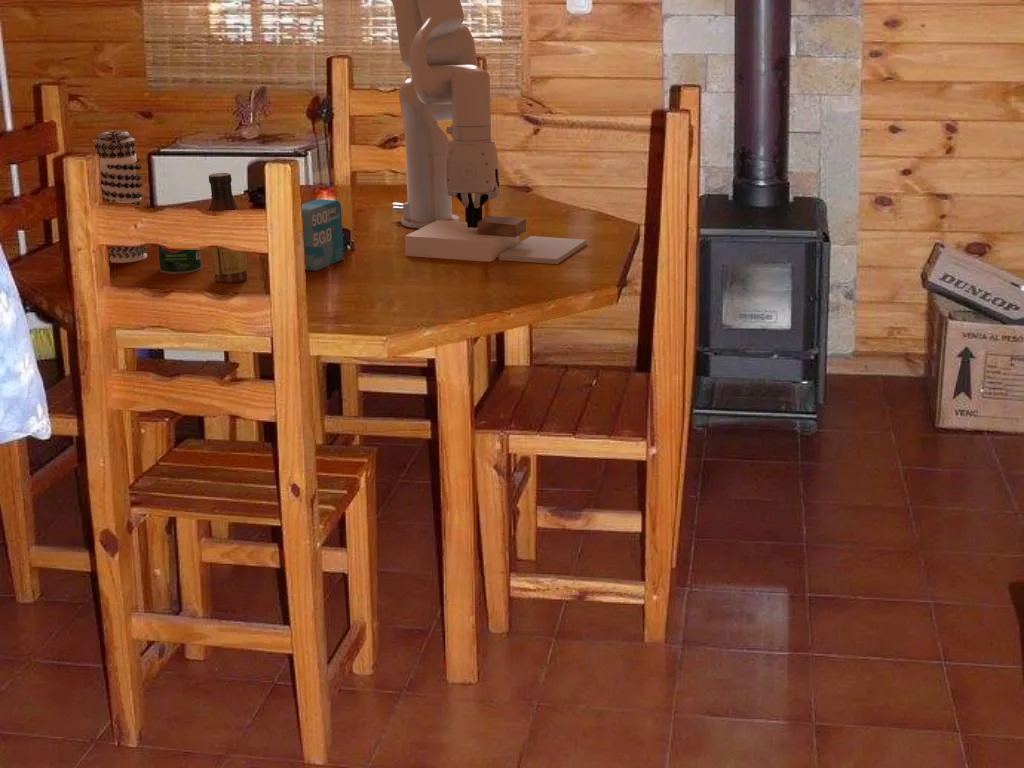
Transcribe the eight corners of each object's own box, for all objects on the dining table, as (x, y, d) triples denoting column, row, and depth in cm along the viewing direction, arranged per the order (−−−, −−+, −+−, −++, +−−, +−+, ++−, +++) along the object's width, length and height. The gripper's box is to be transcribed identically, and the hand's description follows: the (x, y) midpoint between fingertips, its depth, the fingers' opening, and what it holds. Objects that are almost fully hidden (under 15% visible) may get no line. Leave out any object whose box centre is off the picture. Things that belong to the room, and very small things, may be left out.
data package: (312, 272, 281) (308, 210, 278) (292, 271, 283) (288, 208, 279) (344, 259, 292) (341, 199, 288) (324, 257, 294) (321, 197, 290)
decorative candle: (158, 254, 299) (147, 129, 291) (133, 264, 290) (120, 136, 283) (119, 251, 302) (107, 128, 294) (93, 261, 293) (79, 134, 286)
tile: (477, 234, 292) (477, 221, 292) (488, 228, 298) (488, 215, 297) (515, 237, 290) (515, 224, 289) (526, 231, 295) (526, 218, 294)
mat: (498, 259, 289) (498, 254, 289) (530, 240, 305) (530, 236, 304) (557, 264, 285) (557, 259, 284) (586, 244, 301) (586, 239, 300)
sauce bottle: (254, 278, 278) (247, 172, 272) (235, 285, 273) (227, 178, 267) (225, 275, 281) (217, 170, 275) (205, 282, 275) (197, 176, 269)
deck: (405, 255, 294) (404, 235, 292) (438, 239, 308) (437, 220, 307) (490, 261, 287) (489, 241, 286) (519, 244, 302) (519, 225, 300)
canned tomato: (166, 275, 281) (160, 218, 278) (155, 267, 288) (150, 211, 284) (206, 270, 284) (202, 214, 281) (195, 262, 291) (190, 207, 288)
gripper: (429, 135, 289) (432, 228, 294) (500, 137, 284) (502, 232, 289) (444, 129, 296) (447, 220, 301) (514, 132, 290) (516, 225, 296)
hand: (474, 226), depth 295 cm, fingers closed
